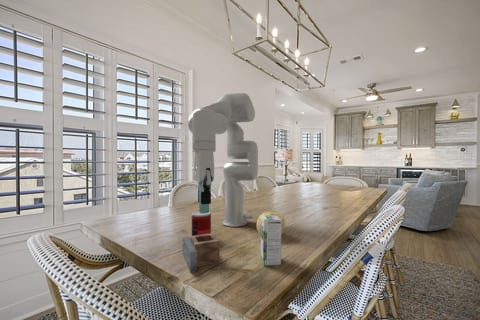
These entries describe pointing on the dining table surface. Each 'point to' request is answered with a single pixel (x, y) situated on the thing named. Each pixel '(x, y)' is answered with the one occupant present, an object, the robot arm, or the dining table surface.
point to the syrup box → (270, 240)
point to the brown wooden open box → (206, 248)
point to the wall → (190, 254)
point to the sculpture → (270, 214)
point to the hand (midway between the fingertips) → (204, 202)
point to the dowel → (202, 207)
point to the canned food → (201, 223)
